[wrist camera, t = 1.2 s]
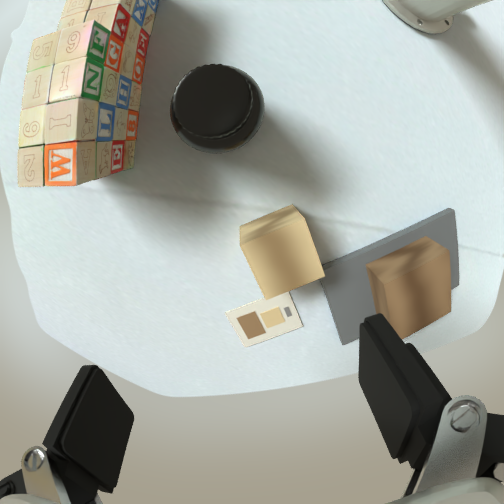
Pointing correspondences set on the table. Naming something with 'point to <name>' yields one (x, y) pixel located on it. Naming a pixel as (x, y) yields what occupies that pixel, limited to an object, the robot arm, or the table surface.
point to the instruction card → (264, 319)
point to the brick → (412, 285)
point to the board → (356, 277)
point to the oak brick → (280, 251)
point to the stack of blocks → (84, 93)
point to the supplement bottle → (217, 108)
